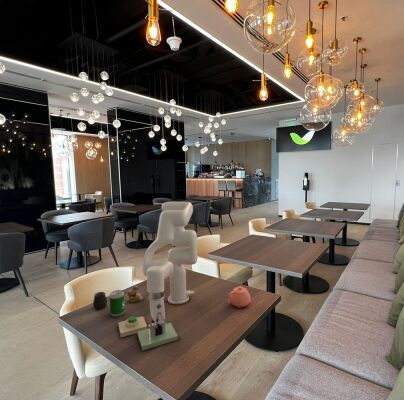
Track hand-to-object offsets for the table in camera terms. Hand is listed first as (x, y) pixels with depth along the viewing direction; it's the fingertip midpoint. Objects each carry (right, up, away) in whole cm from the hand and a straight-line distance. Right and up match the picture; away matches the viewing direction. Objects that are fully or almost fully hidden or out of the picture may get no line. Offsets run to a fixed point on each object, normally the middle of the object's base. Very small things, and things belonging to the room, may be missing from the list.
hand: (157, 330), depth 122 cm
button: (-14, +1, +7) cm, 16 cm away
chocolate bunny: (-22, 0, +36) cm, 42 cm away
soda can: (-27, -1, +21) cm, 34 cm away
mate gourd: (-39, -1, +28) cm, 48 cm away
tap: (0, -1, 0) cm, 1 cm away
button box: (-14, -3, +8) cm, 16 cm away
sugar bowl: (+39, 0, +31) cm, 50 cm away
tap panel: (0, -3, 0) cm, 3 cm away
